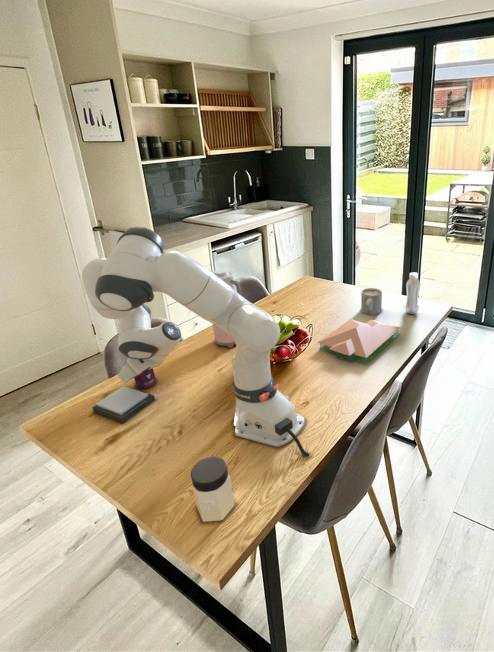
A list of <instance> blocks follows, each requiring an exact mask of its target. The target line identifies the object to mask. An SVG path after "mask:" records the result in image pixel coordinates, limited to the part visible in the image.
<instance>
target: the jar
mask: <svg viewBox="0 0 494 652" xmlns="http://www.w3.org/2000/svg"><path fill="white" fill-rule="evenodd" d="M190 480H191V481H190V482H191V486H192V491H193V495H194V496H193V497H194V500H195V504H196V509H197V511H198V513H199V516H200V518H201V521H202V522H203V523H206V522H218V521H224V520H225V518H226V517H227V516H228V514H229V513H230V512H231V511H232V509H233V508H234V507H235V505H236V504H235V499H234V492H233V487H232V481H231V476H230V474H229V470H228V464H227V462H226V460H224V458H222V457H219V456H209V457H205V458H203V459H200V460H199V461H197V462H196V463H195V464H194V465H193V466H192V469H191V470H190Z"/></svg>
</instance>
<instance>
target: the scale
mask: <svg viewBox="0 0 494 652" xmlns="http://www.w3.org/2000/svg"><path fill="white" fill-rule="evenodd" d="M155 400H156V399H155V395H154V394H152V393H148V392H145V391H142V390H139V389H136V388H132V387H130V386H127V385H122V386H121V387H119V388H118V389H116V390H114V391H113V392H112V393H110V394H109V395H107V396H105V397H103V398H102V399H100V400H99V401H98V402H96V403H94V404H95V405H94V406H92V407H91V408H92V411H93V413H95V414H97V415H100V416H103V417H105V418H108V419H111V420H113V421H116V422H118V423H121V424H124V423H126V422H127V421H128V420H130V419H131V418H133V417H134V416H135V415H137V414H138V413H139V412H141V411H142V410H144V409H145V408H147V406H149V405H150V404H152V403H153V402H155Z"/></svg>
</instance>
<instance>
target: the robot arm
mask: <svg viewBox="0 0 494 652" xmlns="http://www.w3.org/2000/svg"><path fill="white" fill-rule="evenodd" d="M213 272H214V271H212V270H210V269H209V268H207V267H206V266H205V265H203V264H202V263H201V262H200V261H199V262H198V261H197V260H195V259H194V258H192V257H191V256H188V255H187V254H185V253H183V252H181V251H178V250H175V249H174V250H173V249H170V250H166V251H165V243H164V241H163V239H162V237H161V236H160V235H159V234H158V233H157V232H155V231H153V230H152V229H149V228H147V227H143V226H132V227H130V228H128V229H127V230H125V231H124V232H123V233H122V235H120V237H119V238H118V239H117V242H116V244H115V246H114V247H113V249H112V251H111V252H110V253H109V255H108V256H107V257H99V258H94V259H93V260H90V261H89V262H88V263H86V264H85V266H84V267H83V269H82V271H81V280H82V285H83V289H84V291H85V294H86V296H87V298H88V300H89V302H90V304H91V306H92V307H93V309H94V310H95V311H96V313H98V315H100V316H102V317H103V318H105V319H109V320H117V322H118V323H117V329H118V330H117V331H118V332H117V333H118V334H117V337H118V340H117V343H118V345H117V346H118V351H119V352H120V353H121V354H122V355H123V356H125V357H127V358H126V360H125V361H126V363H125V364H124V365H123V366H122V368H121V369H120V371H119V372H118V375H117V377H118V378H119V380H120V381H121V382H122V383H123V384H126V383H128V382H130V381H132V380H133V379H134V377H136V376H138V375H139V374H141V373H143V372H145V371H147V370H149V369H152V368H153V369H154V368H157V367H158V368H159V367H161V366H162V365H163V364H164V363H165V361H166V360H167V359H168V357H169V356H170V355H171V354H172V353H173V352H174V350H175V349H177V347H178V346H179V344H180V341H181V339H182V332H181V328H180V327H179V326H178V325H177V324H176V323H175V322H172V321H164V322H162V323H161V324H160V325H158V326H154V327H152V321H151V319H152V311H151V309H150V307H148V305H146V304H147V303H151V302H152V301H153V300H154V299H155V293H157V292H158V293H163V294H165V295H167V296H168V297H170V298H171V299H173V300H174V301H175V302H177V303H178V304H180V305H182V306H183V307H185V308H186V309H187V310H190V312H192V313H194V314H195V315H197V316H198V317H200V318H201V319H203V320H205V321H207V322H209V323H211V324H212V325H213V324H214V325H216V326H217V327H219V328H221V329H222V330H224V331H225V332H226V333H228V334H229V335H230V336H231V337H233V339H234V340H235V343H236V344H235V347H236V350H235V351H236V352H235V353H234V355H233V356H232V357H231V369H232V375H233V382H232V389H233V394H234V397H235V413H234V420H233V426H235V428H234V435H235V436H236V437H239V438H243V439H245V440H250V441H253V442H258V443H261V444H264V445H268V446H271V447H276V448H279V447H282V446H284V445H287V444H288V443H290V442H291V441H292V440H294V441H295V444H296V445H297V448H298V449H299V451H300V453H301V454H302V455H303V456H305V457H306V458H308V457H309V456H310V453H309V452H307V451H306V450H305V449H304V448H303V445H302V444H301V442H300V440H299V438H298V437H297V436H298V435H299V434H300V433H301V431H302V430H303V428H304V426H305V423H306V420H305V416H302V415H301V414H299V412H297V410H296V407H295V405H294V404H293V403H292V402H291V399H290V397H289V396H288V395H284V394H283V393H282V392H281V391H280V390H279V389H278V388H279V387H280V385H279V384H280V383H279V382H278V383H277V384H276V382H275V380H274V378H273V376H272V372H271V371H272V370H271V361H270V360H271V359H270V357H271V351H272V349H273V348H275V346H276V345H277V344H278V342H279V340H280V337H281V328H280V325H279V323H278V322H277V321H276V319H274V317H273V316H272V315H271V314H269V313H268V312H267V311H265V310H263V309H262V308H260V307H259V306H257V305H256V304H254V303H252V302H250V301H249V300H247V298H245V297H243V296H242V294H241V295H240V294H238V293H237V292H236V291H235V290H234V289H233V288H232V287H231V286H230V285H228V284H227V283H226V282H224V281H223V280H222V279H220V278H219V277H218V276H217V275H215V274H214V273H213ZM154 292H155V293H154ZM145 303H146V304H145Z"/></svg>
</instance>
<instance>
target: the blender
mask: <svg viewBox="0 0 494 652" xmlns="http://www.w3.org/2000/svg"><path fill="white" fill-rule="evenodd" d="M212 272H213V273H214V274H215V275H217V276H218V277H219V278H220V279H222V280H223V281H224V282H226V283H227V284H228V285H230V286H231V287H232V288H233V289H234V290H235V291H236V292H237V293H238V294H240V295H241V296H242V288H241V284H240V283H239V282H238V280H236V276H235V273H234V272H233V271H231V270H226V269H217V270H214V271H212ZM212 329H213V334H214V342H215V344H217V345H219V346H226V347H227V348H228V349H230V348H233V347H234V345H236V343H235V340H234V339H233V337H231V336H230V335H229V334H228V333H226V332H225V331H224V330H222V329H221V328H219V327H217V326H216V325H214V324H212Z"/></svg>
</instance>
